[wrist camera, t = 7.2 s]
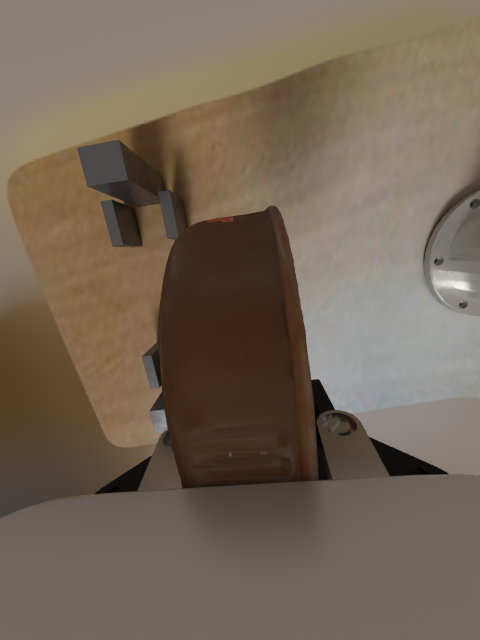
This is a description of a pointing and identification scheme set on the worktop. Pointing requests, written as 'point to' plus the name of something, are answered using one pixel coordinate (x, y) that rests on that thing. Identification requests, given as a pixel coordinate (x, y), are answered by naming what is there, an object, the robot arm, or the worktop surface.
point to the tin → (236, 355)
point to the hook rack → (133, 219)
